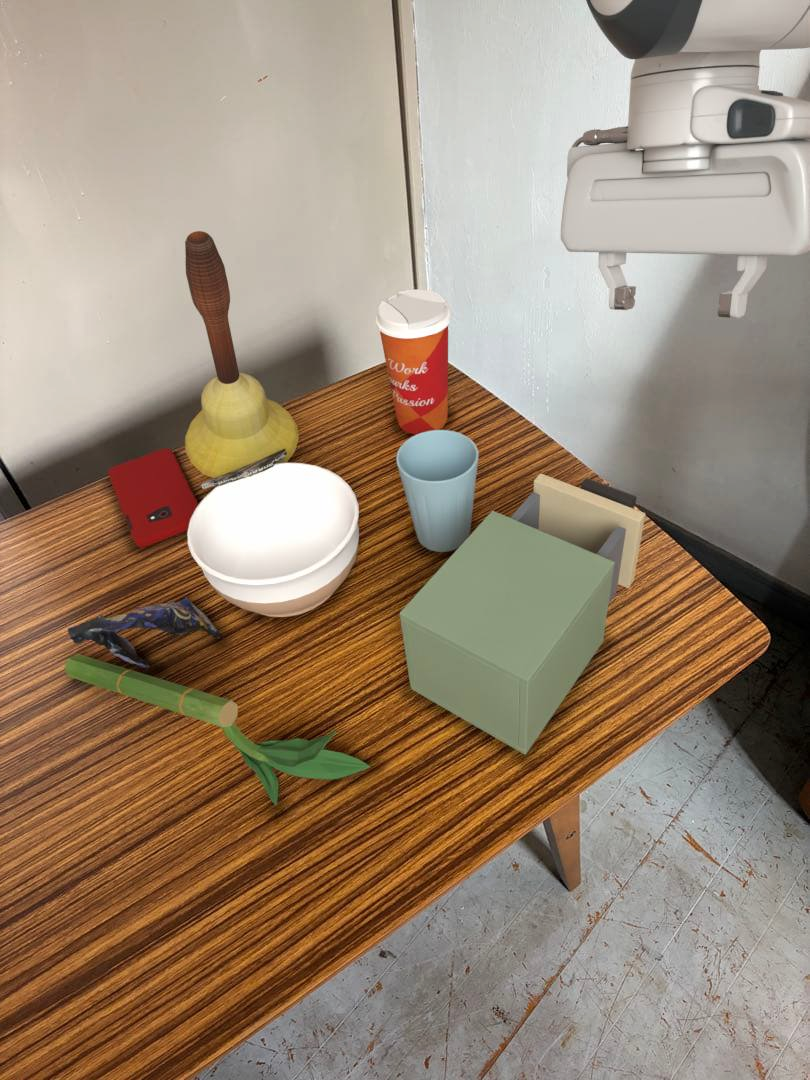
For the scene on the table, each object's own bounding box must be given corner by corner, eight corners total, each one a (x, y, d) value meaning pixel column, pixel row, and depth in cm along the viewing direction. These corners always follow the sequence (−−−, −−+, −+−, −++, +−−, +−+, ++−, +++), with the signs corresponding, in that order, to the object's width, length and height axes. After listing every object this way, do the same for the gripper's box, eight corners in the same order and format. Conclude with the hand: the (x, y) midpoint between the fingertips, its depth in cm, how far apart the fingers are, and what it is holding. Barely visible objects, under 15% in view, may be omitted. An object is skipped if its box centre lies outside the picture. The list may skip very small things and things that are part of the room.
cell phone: (105, 467, 92) (108, 474, 93) (134, 544, 83) (137, 550, 83) (169, 444, 94) (172, 451, 95) (205, 516, 85) (207, 523, 85)
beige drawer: (560, 511, 81) (565, 445, 75) (655, 550, 76) (668, 482, 70) (468, 623, 72) (464, 557, 66) (569, 674, 67) (575, 609, 61)
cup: (447, 572, 77) (441, 493, 70) (390, 538, 81) (379, 460, 74) (495, 529, 81) (495, 449, 74) (439, 498, 85) (432, 420, 78)
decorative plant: (97, 623, 74) (364, 695, 58) (130, 689, 78) (387, 771, 63) (44, 666, 69) (317, 755, 54) (82, 733, 74) (345, 833, 58)
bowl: (223, 661, 72) (199, 605, 66) (198, 545, 83) (176, 488, 77) (390, 607, 75) (380, 549, 69) (344, 501, 86) (333, 444, 80)
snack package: (100, 616, 77) (219, 591, 78) (109, 682, 76) (230, 656, 76) (46, 599, 65) (187, 570, 66) (56, 677, 64) (199, 646, 65)
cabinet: (493, 589, 75) (492, 510, 68) (603, 641, 70) (615, 561, 63) (410, 689, 68) (399, 613, 61) (525, 755, 63) (528, 681, 56)
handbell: (196, 494, 82) (133, 298, 61) (175, 410, 88) (112, 207, 68) (311, 466, 84) (289, 268, 64) (283, 386, 91) (254, 183, 70)
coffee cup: (374, 421, 96) (357, 309, 85) (423, 391, 99) (413, 279, 88) (422, 450, 91) (411, 335, 80) (472, 417, 94) (467, 302, 84)
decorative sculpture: (303, 441, 93) (225, 472, 93) (301, 437, 92) (223, 468, 93) (276, 465, 73) (178, 505, 74) (274, 460, 73) (176, 500, 74)
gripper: (547, 132, 63) (544, 310, 69) (818, 105, 50) (787, 328, 56) (590, 131, 67) (583, 300, 73) (851, 107, 54) (818, 315, 60)
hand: (673, 312), depth 64 cm, fingers open, 8 cm apart
